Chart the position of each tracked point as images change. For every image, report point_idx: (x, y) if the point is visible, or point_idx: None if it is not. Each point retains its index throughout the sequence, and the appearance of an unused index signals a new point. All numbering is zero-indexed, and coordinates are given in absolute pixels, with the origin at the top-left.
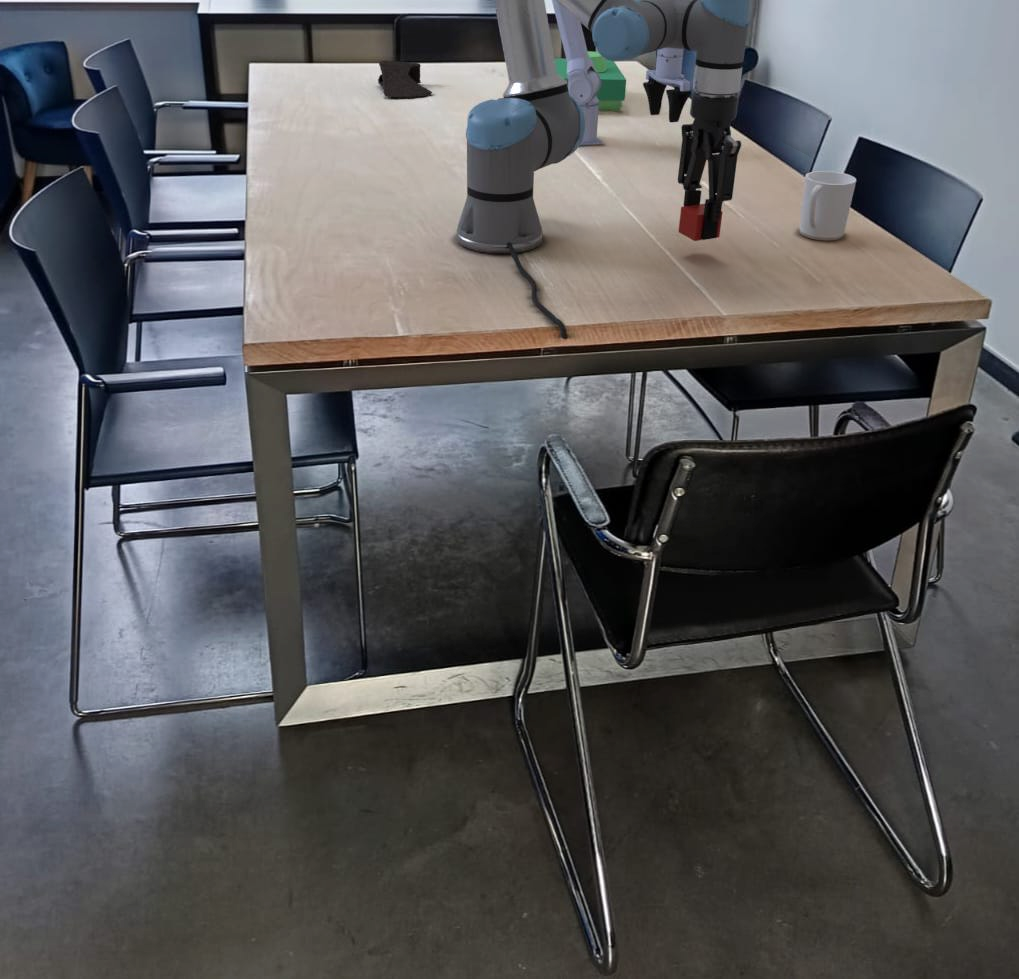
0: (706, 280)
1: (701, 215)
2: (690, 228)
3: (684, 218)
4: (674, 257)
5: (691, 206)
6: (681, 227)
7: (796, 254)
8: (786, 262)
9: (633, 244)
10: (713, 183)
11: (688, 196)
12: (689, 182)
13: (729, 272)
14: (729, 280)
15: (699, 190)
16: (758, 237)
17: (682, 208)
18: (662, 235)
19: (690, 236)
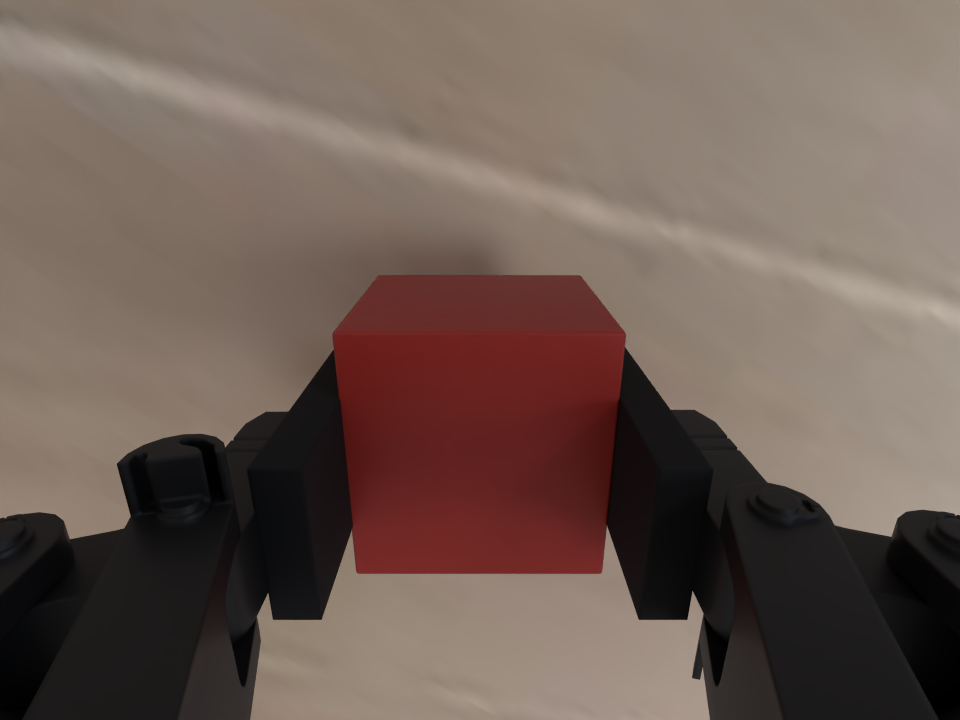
0: (123, 155)
1: (338, 371)
2: (439, 292)
3: (537, 306)
4: (516, 206)
5: (586, 426)
6: (553, 284)
7: (334, 700)
8: (261, 625)
9: (824, 100)
10: (42, 705)
11: (646, 451)
12: (739, 570)
13: (210, 344)
14: (99, 275)
15: (669, 614)
16: (568, 692)
17: (598, 330)
18: (835, 351)
19: (432, 278)
